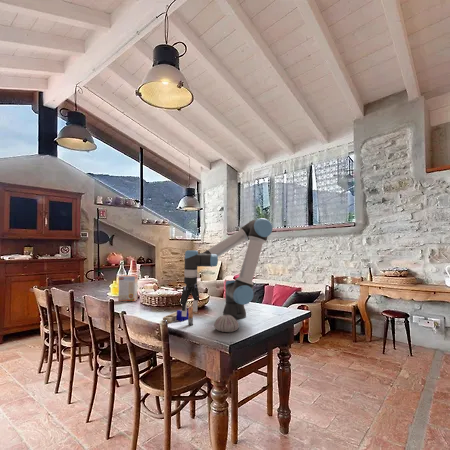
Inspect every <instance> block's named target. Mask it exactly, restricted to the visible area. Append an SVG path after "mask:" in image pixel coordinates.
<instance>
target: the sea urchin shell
mask: <svg viewBox="0 0 450 450" xmlns="http://www.w3.org/2000/svg"><path fill="white" fill-rule="evenodd" d="M214 328H215V329H216V330H217V331H219V332H222V333H224V332H225V333H232V332H235V331H237V330H238V329H239V322H238V320H237V319H235V318H234V317H233V316H231V315H223V314H222V315H221V316H219V317H218V318H216V320H215V321H214Z"/></svg>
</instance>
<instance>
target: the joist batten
mask: <svg viewBox="0 0 450 450" xmlns="http://www.w3.org/2000/svg"><path fill="white" fill-rule="evenodd" d="M163 320H167V322H168V323H167V324H172V323H174V322H176V321H177V311H175V312H172V313H170V314H168V315H165V316H163V317H162V321H163Z"/></svg>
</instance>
